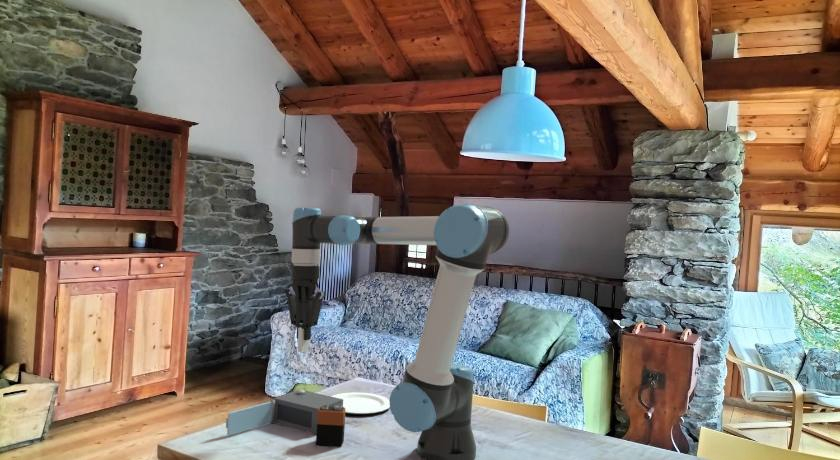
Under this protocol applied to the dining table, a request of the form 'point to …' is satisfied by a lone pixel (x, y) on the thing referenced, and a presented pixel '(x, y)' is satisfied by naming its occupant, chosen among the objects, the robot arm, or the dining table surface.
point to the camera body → (301, 409)
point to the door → (250, 417)
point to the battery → (330, 426)
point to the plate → (363, 403)
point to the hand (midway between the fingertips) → (303, 351)
